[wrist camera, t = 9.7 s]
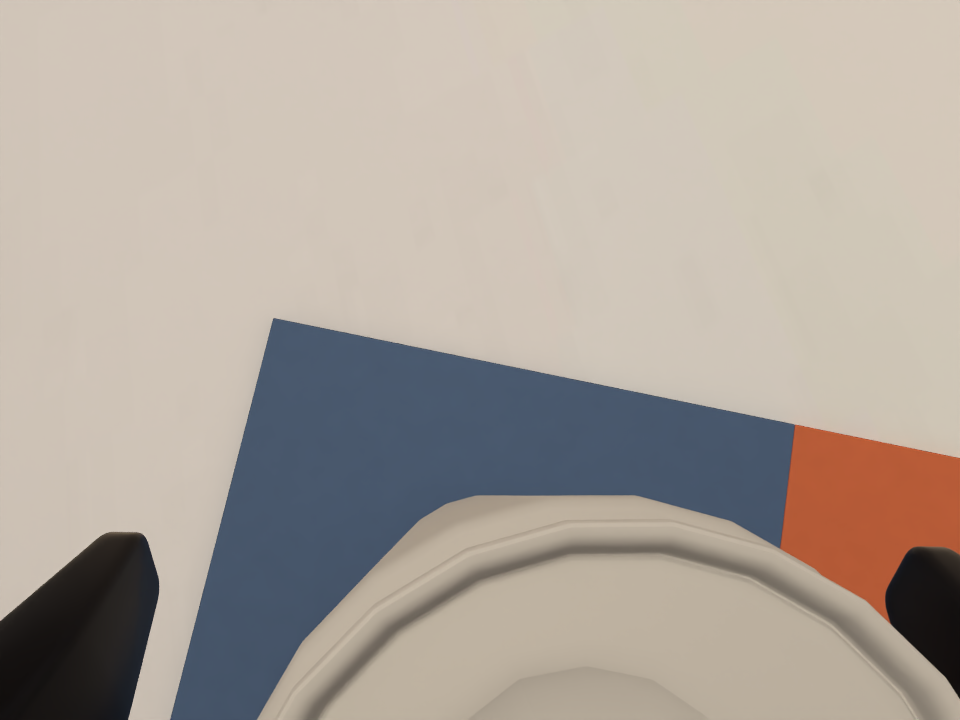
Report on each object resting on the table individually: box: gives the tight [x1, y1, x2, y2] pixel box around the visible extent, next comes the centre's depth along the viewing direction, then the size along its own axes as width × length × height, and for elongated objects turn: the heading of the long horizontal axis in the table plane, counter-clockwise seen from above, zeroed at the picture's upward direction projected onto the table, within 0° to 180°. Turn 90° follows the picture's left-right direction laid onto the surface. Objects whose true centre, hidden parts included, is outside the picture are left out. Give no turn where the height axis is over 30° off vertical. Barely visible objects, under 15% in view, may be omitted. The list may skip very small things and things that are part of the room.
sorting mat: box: [170, 318, 960, 720], centre depth 16 cm, size 24×10×1 cm, turn 79°
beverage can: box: [257, 495, 960, 720], centre depth 10 cm, size 5×5×12 cm
